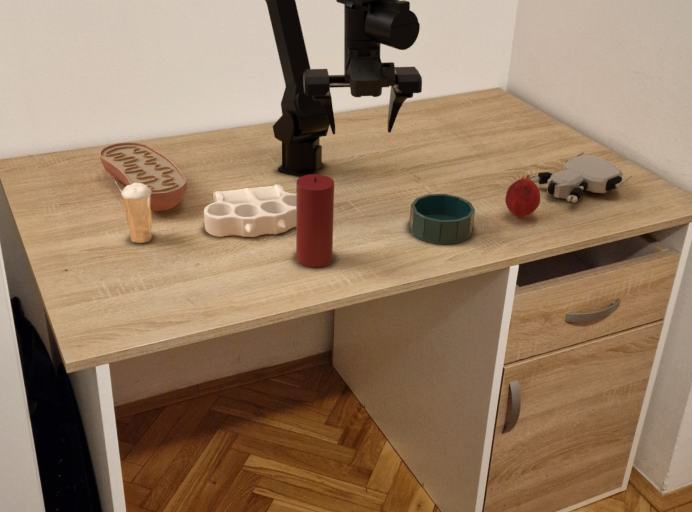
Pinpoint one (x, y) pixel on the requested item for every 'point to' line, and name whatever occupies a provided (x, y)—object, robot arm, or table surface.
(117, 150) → the mitochondrion model
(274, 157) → the table surface
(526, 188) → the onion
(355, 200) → the table surface
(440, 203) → the shallow bowl
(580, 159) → the robot toy
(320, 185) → the candle
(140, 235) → the milkshake
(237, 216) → the knuckle duster
